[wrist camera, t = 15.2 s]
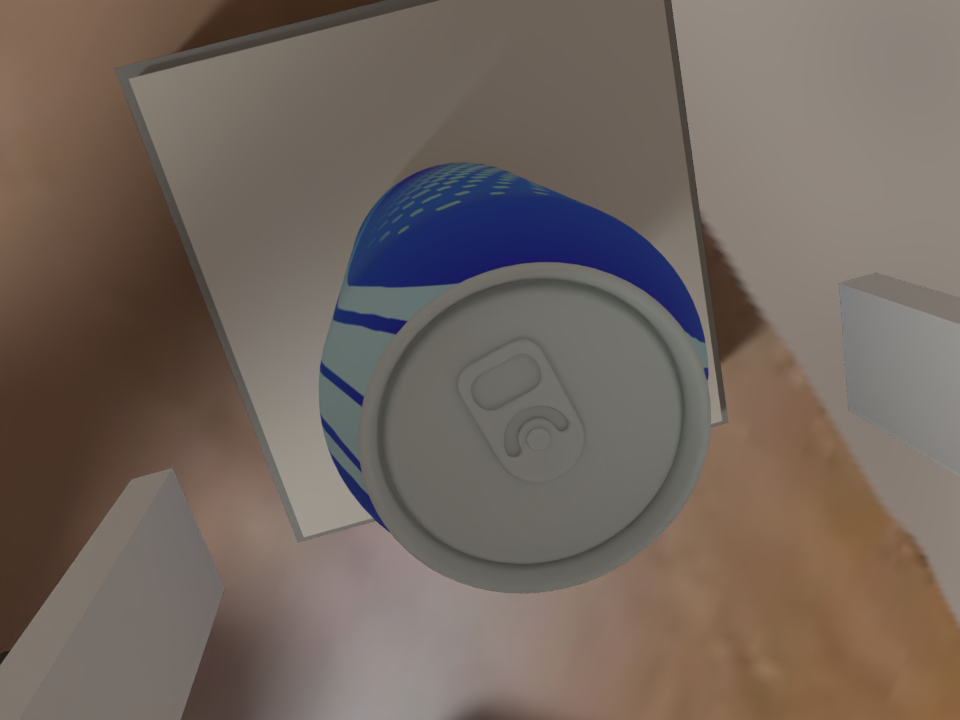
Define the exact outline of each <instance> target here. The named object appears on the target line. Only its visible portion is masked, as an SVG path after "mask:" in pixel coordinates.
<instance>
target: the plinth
mask: <svg viewBox="0 0 960 720" xmlns="http://www.w3.org/2000/svg"><path fill="white" fill-rule="evenodd" d="M115 71H116V73H117V76H118V78H119V81H120V84H121V86H122V89H123V91H124V94H125V97H126V99H127V102H128V104H129V107H130V109H131V112H132V115H133V117H134V120H135V122H136V125H137V128H138V130H139V133H140V135H141V138H142V141H143V143H144V146H145V148H146V151H147V153H148V156H149V159H150V161H151V164H152V166H153V169H154V172H155V174H156V177H157V179H158V182H159V184H160V187H161V190H162V192H163V195H164V197H165V200H166V203H167V205H168V208H169V210H170V213H171V216H172V218H173V221H174V223H175V226H176V228H177V231H178V234H179V236H180V239H181V241H182V244H183V247H184V249H185V252H186V254H187V257H188V260H189V262H190V265H191V267H192V270H193V272H194V275H195V278H196V280H197V283H198V285H199V288H200V291H201V293H202V296H203V298H204V301H205V304H206V306H207V309H208V311H209V314H210V316H211V319H212V322H213V324H214V327H215V329H216V332H217V335H218V337H219V340H220V342H221V345H222V347H223V350H224V353H225V355H226V358H227V360H228V363H229V366H230V368H231V371H232V373H233V376H234V379H235V381H236V384H237V386H238V389H239V391H240V394H241V397H242V399H243V402H244V404H245V407H246V410H247V412H248V415H249V417H250V420H251V423H252V425H253V428H254V430H255V433H256V435H257V438H258V441H259V443H260V446H261V448H262V451H263V454H264V456H265V459H266V461H267V464H268V466H269V469H270V472H271V474H272V477H273V479H274V482H275V485H276V487H277V490H278V492H279V495H280V498H281V500H282V503H283V505H284V508H285V510H286V513H287V516H288V518H289V521H290V523H291V526H292V529H293V531H294V534H295V536H296V539H297V542H301V541H305V540H308V539H312V538H316V537H319V536H323V535H326V534H330V533H334V532H337V531H341V530H344V529H348V528H351V527H355V526H359V525H362V524H366V523H369V522H373V521H376V520H374V519H373V517H372V516H371V515H370V514H369V513H368V512H367V511H366V510H365V509H364V508H363V507H362V506H361V505H360V503H359V502H358V501H357V500H356V498H355V497H354V496H353V495H352V493H351V492H350V491H349V489H348V487H347V486H346V484H345V483H344V481H343V480H342V478H341V476H340V474H339V472H338V470H337V468H336V466H335V464H334V462H333V460H332V458H331V455H330V452H329V449H328V447H327V444H326V440H325V436H324V432H323V428H322V423H321V416H320V409H319V373H320V364H321V358H322V353H323V348H324V344H325V341H326V337H327V334H328V331H329V327H330V324H331V320H332V317H333V314H334V310H335V307H336V304H337V300H338V297H339V293H340V290H341V287H342V283H343V280H344V276H345V273H346V270H347V266H348V263H349V259H350V256H351V253H352V249H353V246H354V243H355V239H356V236H357V234H358V232H359V229H360V227H361V225H362V223H363V221H364V219H365V218H366V216H367V215H368V213H369V212H370V210H371V209H372V207H373V206H374V205H375V204H376V203H377V201H378V200H379V199H380V198H381V197H382V196H383V195H384V194H385V193H386V192H387V191H388V190H390V189H391V188H392V187H393V186H395V185H396V184H397V183H399V182H400V181H402V180H403V179H405V178H407V177H409V176H410V175H412V174H414V173H416V172H419V171H421V170H424V169H427V168H430V167H433V166H437V165H442V164H448V163H460V162H465V163H478V164H485V165H489V166H493V167H497V168H499V169H502V170H505V171H508V172H510V173H512V174H515V175H517V176H519V177H522V178H524V179H527V180H529V181H531V182H534V183H536V184H539V185H541V186H543V187H546V188H548V189H550V190H553V191H555V192H558V193H560V194H562V195H565V196H567V197H569V198H572V199H574V200H577V201H579V202H581V203H584V204H586V205H589V206H591V207H593V208H596V209H598V210H600V211H602V212H604V213H606V214H608V215H611V216H613V217H615V218H616V219H618V220H620V221H621V222H623V223H625V224H626V225H628V226H629V227H631V228H632V229H634V230H635V231H636V232H638V233H639V234H640V235H641V236H643V237H644V238H645V239H647V240H648V241H649V242H650V243H651V244H652V245H653V246H654V247H655V248H656V249H657V250H658V251H659V252H660V253H661V254H662V255H663V256H664V257H665V258H666V260H667V261H668V262H669V263H670V264H671V266H672V267H673V268H674V269H675V271H676V272H677V274H678V275H679V277H680V278H681V280H682V281H683V283H684V284H685V286H686V288H687V290H688V292H689V294H690V296H691V298H692V300H693V302H694V304H695V307H696V310H697V312H698V315H699V317H700V321H701V325H702V329H703V332H704V336H705V342H706V349H707V355H708V372H709V376H708V388H709V395H710V402H711V427H714V426H718V425H721V424H725V423H728V416H727V409H726V401H725V394H724V387H723V379H722V372H721V365H720V357H719V350H718V343H717V335H716V328H715V321H714V313H713V306H712V299H711V291H710V284H709V276H708V269H707V262H706V254H705V247H704V240H703V232H702V225H701V218H700V210H699V203H698V196H697V188H696V182H695V174H694V166H693V160H692V151H691V145H690V137H689V130H688V122H687V115H686V107H685V100H684V93H683V85H682V78H681V71H680V63H679V56H678V49H677V41H676V34H675V27H674V20H673V12H672V4H671V0H384V1H381V2H377V3H373V4H369V5H365V6H361V7H357V8H353V9H349V10H345V11H341V12H337V13H333V14H329V15H325V16H321V17H317V18H313V19H309V20H305V21H301V22H297V23H293V24H289V25H285V26H281V27H277V28H273V29H269V30H265V31H261V32H257V33H253V34H249V35H245V36H241V37H238V38H234V39H230V40H226V41H222V42H218V43H214V44H210V45H206V46H202V47H198V48H194V49H190V50H186V51H182V52H178V53H174V54H170V55H166V56H162V57H158V58H154V59H150V60H146V61H142V62H138V63H134V64H130V65H126V66H122V67H118V68H115Z"/></svg>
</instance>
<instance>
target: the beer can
mask: <svg viewBox="0 0 960 720" xmlns="http://www.w3.org/2000/svg"><path fill="white" fill-rule="evenodd" d="M708 376H709V372H708V355H707V349H706V342H705V336H704V332H703V329H702V325H701V321H700V317H699V315H698V312H697V310H696V307H695V304H694V302H693V300H692V298H691V296H690V294H689V292H688V290H687V288H686V286H685V284H684V283H683V281H682V280H681V278H680V277H679V275H678V274H677V272H676V271H675V269H674V268H673V267H672V266H671V264H670V263H669V262H668V261H667V260H666V258H665V257H664V256H663V255H662V254H661V253H660V252H659V251H658V250H657V249H656V248H655V247H654V246H653V245H652V244H651V243H650V242H649V241H648V240H647V239H645V238H644V237H643V236H641V235H640V234H639V233H638V232H636V231H635V230H634V229H632V228H631V227H629V226H628V225H626V224H625V223H623V222H621V221H620V220H618V219H616V218H615V217H613V216H611V215H608V214H606V213H604V212H602V211H600V210H598V209H596V208H593V207H591V206H589V205H586V204H584V203H581V202H579V201H577V200H574V199H572V198H569V197H567V196H565V195H562V194H560V193H558V192H555V191H553V190H550V189H548V188H546V187H543V186H541V185H539V184H536V183H534V182H531V181H529V180H527V179H524V178H522V177H519V176H517V175H515V174H512V173H510V172H508V171H505V170H502V169H499V168H497V167H493V166H489V165H485V164H478V163H465V162H460V163H448V164H442V165H437V166H433V167H430V168H427V169H424V170H421V171H419V172H416V173H414V174H412V175H410V176H409V177H407V178H405V179H403V180H402V181H400V182H399V183H397V184H396V185H395V186H393V187H392V188H391V189H390V190H388V191H387V192H386V193H385V194H384V195H383V196H382V197H381V198H380V199H379V200H378V201H377V203H376V204H375V205H374V206H373V207H372V209H371V210H370V212H369V213H368V215H367V216H366V218H365V219H364V221H363V223H362V225H361V227H360V229H359V232H358V234H357V236H356V239H355V243H354V246H353V249H352V253H351V256H350V259H349V263H348V266H347V270H346V273H345V276H344V280H343V283H342V287H341V290H340V293H339V297H338V300H337V304H336V307H335V310H334V314H333V317H332V320H331V324H330V327H329V331H328V334H327V337H326V341H325V344H324V348H323V353H322V358H321V364H320V373H319V409H320V416H321V423H322V428H323V432H324V436H325V440H326V444H327V447H328V449H329V452H330V455H331V458H332V460H333V462H334V464H335V466H336V468H337V470H338V472H339V474H340V476H341V478H342V480H343V481H344V483H345V484H346V486H347V487H348V489H349V491H350V492H351V493H352V495H353V496H354V497H355V498H356V500H357V501H358V502H359V503H360V505H361V506H362V507H363V508H364V509H365V510H366V511H367V512H368V513H369V514H370V515H371V516H372V517H373V519H374V520H376V521H377V522H378V523H379V524H380V525H381V526H383V527H384V528H385V529H386V530H387V531H389V532H390V533H391V534H392V535H393V536H394V538H395V539H396V540H397V541H398V542H399V543H400V544H401V545H402V546H403V547H404V548H405V549H406V550H407V551H408V552H409V553H411V554H412V555H413V556H414V557H415V558H417V559H418V560H419V561H421V562H422V563H424V564H425V565H426V566H428V567H429V568H431V569H433V570H434V571H436V572H438V573H440V574H442V575H444V576H446V577H448V578H450V579H453V580H455V581H457V582H460V583H463V584H466V585H469V586H472V587H476V588H480V589H485V590H489V591H497V592H504V593H539V592H547V591H554V590H559V589H564V588H568V587H572V586H575V585H579V584H582V583H585V582H588V581H590V580H593V579H595V578H598V577H600V576H602V575H604V574H606V573H609V572H611V571H613V570H615V569H616V568H618V567H620V566H621V565H623V564H625V563H626V562H628V561H629V560H631V559H632V558H634V557H635V556H637V555H638V554H639V553H641V552H642V551H643V550H644V549H646V548H647V547H648V546H649V545H650V544H652V543H653V542H654V541H655V540H656V539H657V538H658V537H659V536H660V535H661V534H662V533H663V532H664V531H665V530H666V529H667V527H668V526H669V525H670V524H671V523H672V522H673V520H674V519H675V518H676V516H677V515H678V514H679V512H680V511H681V509H682V508H683V507H684V505H685V503H686V502H687V500H688V498H689V497H690V495H691V493H692V491H693V489H694V487H695V485H696V483H697V481H698V478H699V476H700V473H701V470H702V468H703V465H704V462H705V458H706V454H707V450H708V445H709V438H710V431H711V402H710V395H709V388H708Z"/></svg>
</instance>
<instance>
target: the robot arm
mask: <svg viewBox="0 0 960 720" xmlns="http://www.w3.org/2000/svg"><path fill="white" fill-rule="evenodd" d="M839 292H840V304H841V319H842V331H843V345H844V358H845V372H846V385H847V398H848V410H849V411H851V412H852V413H854V414H856V415H857V416H859V417H861V418H863V419H864V420H866V421H867V422H869V423H871V424H872V425H874V426H876V427H877V428H879V429H881V430H882V431H884V432H885V433H887V434H889V435H890V436H892V437H894V438H895V439H897V440H899V441H900V442H902V443H904V444H905V445H907V446H909V447H910V448H912V449H913V450H915V451H917V452H919V453H920V454H922V455H923V456H925V457H927V458H928V459H930V460H932V461H933V462H935V463H937V464H938V465H940V466H942V467H943V468H945V469H947V470H948V471H950V472H952V473H953V474H955V475H956V476H958V477H960V298H959V297H956V296H952V295H949V294H945V293H942V292H939V291H935V290H932V289H929V288H925V287H922V286H918V285H915V284H912V283H908V282H905V281H902V280H898V279H895V278H891V277H888V276H885V275H881V274H878V273H874V274H870V275H867V276H863V277H860V278H856V279H852V280H849V281H845V282H842V283H839ZM224 590H225V587H224V585H223V583H222V581H221V578H220V576H219V574H218V571H217V569H216V567H215V565H214V562H213V560H212V558H211V555H210V553H209V551H208V548H207V546H206V544H205V542H204V539H203V537H202V535H201V532H200V530H199V528H198V526H197V523H196V521H195V519H194V516H193V514H192V512H191V510H190V507H189V505H188V503H187V500H186V498H185V496H184V493H183V491H182V489H181V487H180V484H179V482H178V480H177V477H176V475H175V473H174V471H173V468H171V469H167V470H163V471H160V472H156V473H153V474H149V475H145V476H142V477H138V478H134V479H131V481H130V482H129V484H128V485H127V487H126V488H125V489H124V491H123V492H122V494H121V495H120V496H119V498H118V499H117V501H116V502H115V503H114V505H113V506H112V508H111V509H110V511H109V512H108V513H107V515H106V516H105V518H104V519H103V520H102V522H101V523H100V525H99V526H98V528H97V529H96V530H95V532H94V533H93V535H92V536H91V537H90V539H89V540H88V542H87V543H86V545H85V546H84V547H83V549H82V550H81V552H80V553H79V554H78V556H77V557H76V559H75V560H74V561H73V563H72V564H71V566H70V567H69V569H68V570H67V571H66V573H65V574H64V576H63V577H62V578H61V580H60V581H59V583H58V584H57V586H56V587H55V588H54V590H53V591H52V593H51V594H50V595H49V597H48V598H47V600H46V601H45V603H44V604H43V605H42V607H41V608H40V610H39V611H38V612H37V614H36V615H35V617H34V618H33V619H32V621H31V622H30V624H29V625H28V627H27V628H26V629H25V631H24V632H23V634H22V635H21V636H20V638H19V639H18V641H17V642H16V644H15V645H14V646H13V648H12V649H11V650H9V651H5V652H3V653H2V654H1V655H0V720H181V718H182V715H183V712H184V709H185V706H186V703H187V700H188V697H189V694H190V691H191V688H192V685H193V682H194V679H195V676H196V673H197V670H198V667H199V664H200V661H201V658H202V655H203V652H204V649H205V646H206V643H207V640H208V637H209V635H210V632H211V629H212V626H213V623H214V620H215V617H216V614H217V611H218V608H219V605H220V602H221V599H222V596H223V593H224Z"/></svg>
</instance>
